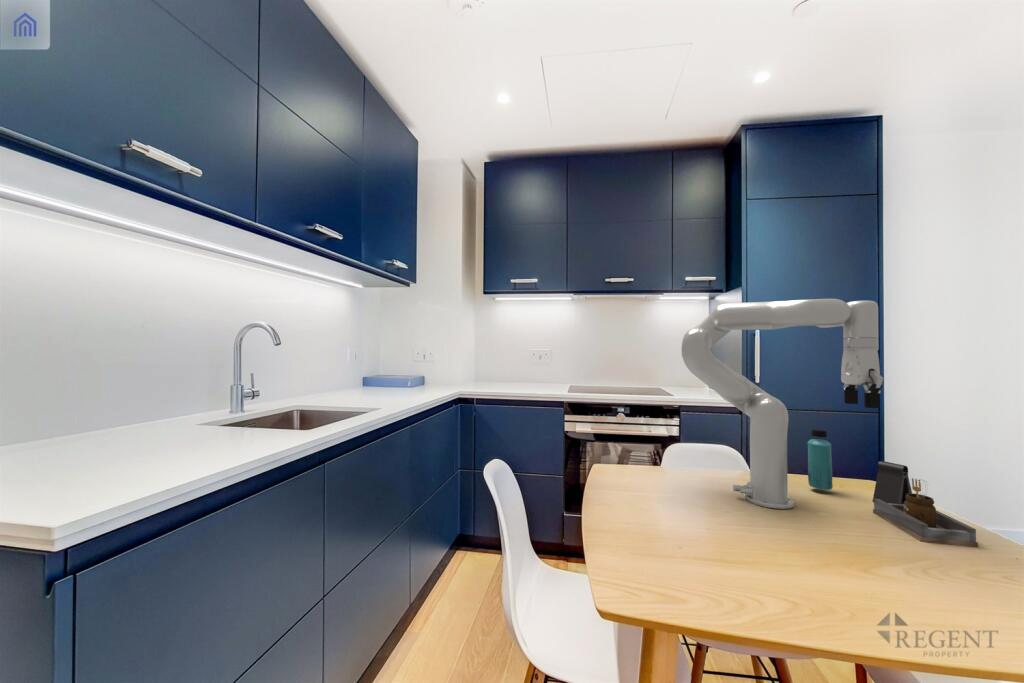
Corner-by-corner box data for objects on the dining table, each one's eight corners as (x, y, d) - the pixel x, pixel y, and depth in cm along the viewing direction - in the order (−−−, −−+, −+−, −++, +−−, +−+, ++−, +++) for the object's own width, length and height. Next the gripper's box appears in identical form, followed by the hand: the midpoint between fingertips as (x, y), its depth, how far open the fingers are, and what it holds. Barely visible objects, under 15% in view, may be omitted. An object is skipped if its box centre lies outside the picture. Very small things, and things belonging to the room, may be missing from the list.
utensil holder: (939, 525, 103) (938, 477, 104) (933, 531, 100) (932, 482, 100) (907, 517, 108) (906, 472, 109) (900, 522, 105) (900, 475, 105)
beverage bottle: (838, 495, 128) (837, 431, 129) (817, 494, 129) (816, 431, 129) (822, 488, 135) (821, 427, 136) (802, 487, 135) (801, 427, 136)
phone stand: (890, 498, 126) (889, 459, 126) (914, 505, 120) (914, 464, 120) (872, 502, 122) (871, 462, 123) (897, 509, 117) (896, 467, 117)
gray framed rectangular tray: (920, 541, 97) (920, 524, 97) (873, 512, 114) (872, 498, 114) (977, 546, 94) (977, 529, 94) (920, 516, 111) (919, 502, 112)
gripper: (829, 345, 124) (829, 401, 123) (863, 343, 107) (863, 409, 106) (858, 345, 122) (858, 402, 121) (897, 344, 105) (898, 410, 104)
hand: (861, 405), depth 114 cm, fingers open, 9 cm apart
